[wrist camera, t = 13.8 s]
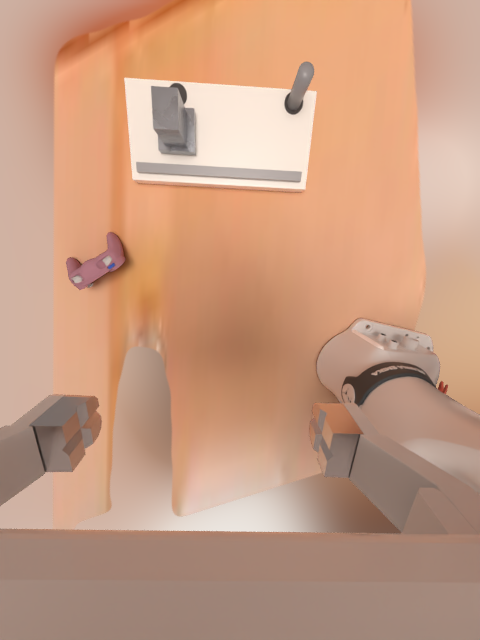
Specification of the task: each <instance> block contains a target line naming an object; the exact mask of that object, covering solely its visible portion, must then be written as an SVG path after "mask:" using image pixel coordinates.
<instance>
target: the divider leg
mask: <svg viewBox="0 0 480 640" xmlns="http://www.w3.org/2000/svg"><path fill="white" fill-rule="evenodd" d="M151 97H152V115H153V129H154V130H155V132H156V133H157V135H158V150H159V151H160V152H161V153H165V154H181V155H196V113H195V109H194V108H185V106H184V104H183V101H182V98H181V95H180V93H179V90H178V88H174V87H159V86H151Z"/></svg>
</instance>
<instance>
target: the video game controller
mask: <svg viewBox="0 0 480 640" xmlns="http://www.w3.org/2000/svg"><path fill="white" fill-rule="evenodd" d="M107 243H108V249H107V251H105V252H104V253H102V254H100V255H99V256H97V257H96V258H93V259H90V260H87V261H86V262H84V263H83V264H82V265H80V264H79V262H78V261H77V260H76V259H74V258H71V257H70V258H68V259H67V261H66V265H67V270H68V276H69V279H70V281H71V282H72V283H73V284H74V286H76V287H77V288H78V289H79V290H81V289H84V288H85V287H87V286H88V288H89V287H92V286H93V284H94V282H93V281H95V280H96V279H98V278H100V277H101V276H103V275H104V274H106V273H107V272H112V271H114V270H116V269H117V268H119V267H120V266H121V265H122V264H123V263H124V261H125V257H124V253H123V248H122V245H121V242H120V240H119V238H118V237H117V235H115V234H114V233H112V232H109V233H108V234H107Z"/></svg>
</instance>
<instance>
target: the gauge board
mask: <svg viewBox="0 0 480 640" xmlns="http://www.w3.org/2000/svg"><path fill="white" fill-rule="evenodd" d="M313 75H314V67H313V65H312V64H311V63H310V62H304V63H302V64H301V65H300V67H299V70H298V73H297V76H296V78H295V81H294V84H293V87H292V89H278V88H263V87H249V86H235V85H220V84H206V83H192V82H178V81H163V80H149V79H135V78H124V79H125V91H126V103H127V116H128V128H129V140H130V153H131V165H132V177H133V180H134V181H136V182H137V183H144V184H162V185H179V186H197V187H215V188H232V189H250V190H267V191H285V192H303V191H304V190H305V187H306V178H307V170H308V161H309V153H310V144H311V136H312V127H313V119H314V110H315V102H316V93H317V91H307V89H308V86H309V84H310V82H311V80H312V77H313ZM151 86H159V87H174V88H178V90H179V93H180V95H181V98H182V101H183V104H184V106H185V108H194V109H195V113H196V155H181V154H165V153H161V152H160V151H159V150H158V135H157V133H156V132H155V130H154V129H153V115H152V97H151Z"/></svg>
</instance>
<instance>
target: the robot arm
mask: <svg viewBox="0 0 480 640" xmlns="http://www.w3.org/2000/svg"><path fill="white" fill-rule="evenodd" d="M367 325H368V327H367V328H366V326H367ZM426 348H427V349H426ZM439 372H440V362H439V359H438V357H437V355H436V354H435V353H433V343H432V340H431V337H430V336H429V335H427V334H425V333H421V332H417V331H413V330H409V329H405V328H401V327H396V326H392V325H388V324H384V323H380V322H376V321H372V320H367V319H363V318H360V319H357V320H356V321H355V322H354V323H353V324H352V325H351V326H350V327H349V328H348V329H347V330H346V331H344V332H342V333H340V334H339V335H337V336H335V337H334V338H332V339H331V340H330V341H329V342H328V343H327V344H326V345H325V346H324V347H323V349H322V350H321V352H320V354H319V357H318V360H317V374H318V377H319V379H320V381H321V382H322V384H323V385H324V386H325V387H326V388H328V389H329V390H330V391H331V392H332V393H333V394H334V395H335V396H336V397H337V399H338V400H339V402H340V403H314V405H313V408H312V413H313V415H314V418H313V419H312V420H311V421H310V427H309V433H310V440H311V444H312V447H313V449H314V450H316V451H317V452H318V458H317V460H318V462H319V465H320V467H321V470H322V473H323V475H324V477H339V478H349V480H350V481H351V482H352V483H353V484H354V485H355V486H356V487H357V488H358V489H359V490H360V491H361V492H362V493H363V494H364V495H365V496H366V497H367V498H368V499H369V500H370V501H371V502H372V503H373V504H374V505H375V506H376V507H377V508H378V509H379V510H380V511H381V512H382V513H383V514H384V515H385V516H386V517H387V518H388V519H389V520H390V521H391V522H392V523H393V524H394V525H395V526H396V527H397V528H398V529H399V530H400V531H401V532H402V534H389V533H386V534H385V533H384V534H383V533H307V532H304V533H303V532H301V533H300V532H224V531H136V530H134V531H133V530H60V529H0V640H480V415H479V414H477V413H475V412H474V411H472V410H470V409H468V408H466V407H465V406H463V405H462V404H460V403H458V402H457V401H455V400H453V399H452V398H450V397H449V396H447V395H446V392H447V388H448V385H446V386H445V388H443V382H442V381H441V382H440V384H439V387H438V389H437V388H436V384H437V380H438V377H439ZM98 407H99V402H98V398H96V397H95V396H82V395H58V394H54V395H49V396H48V397H47V398H45V399H44V400H43V401H42V402H40V403H39V404H38V405H37V406H35V407H34V408H32V409H31V410H30V411H29V412H27V413H26V414H25V415H24V416H22V417H21V418H20V419H18V420H17V421H16V422H15V423H13V424H12V425H11V426H4V427H1V428H0V506H1V505H2V504H4V503H5V502H7V501H8V500H9V499H11V498H12V497H14V496H15V495H16V494H18V493H19V492H20V491H22V490H23V489H24V488H26V487H27V486H29V485H30V484H31V483H33V482H34V481H36V480H37V479H38V478H40V477H41V476H43V475H44V474H45V472H73V470H74V469H75V468H76V466H77V465H78V464H79V462H80V461H81V460H82V458H83V457H84V455H85V448H87V447H88V446H90V445H92V444H93V443H94V442H95V440H96V439H97V437H98V435H99V433H100V430H101V424H102V420H101V416H100V415H99V413H98V412H97V411H96V410H97V408H98Z"/></svg>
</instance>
